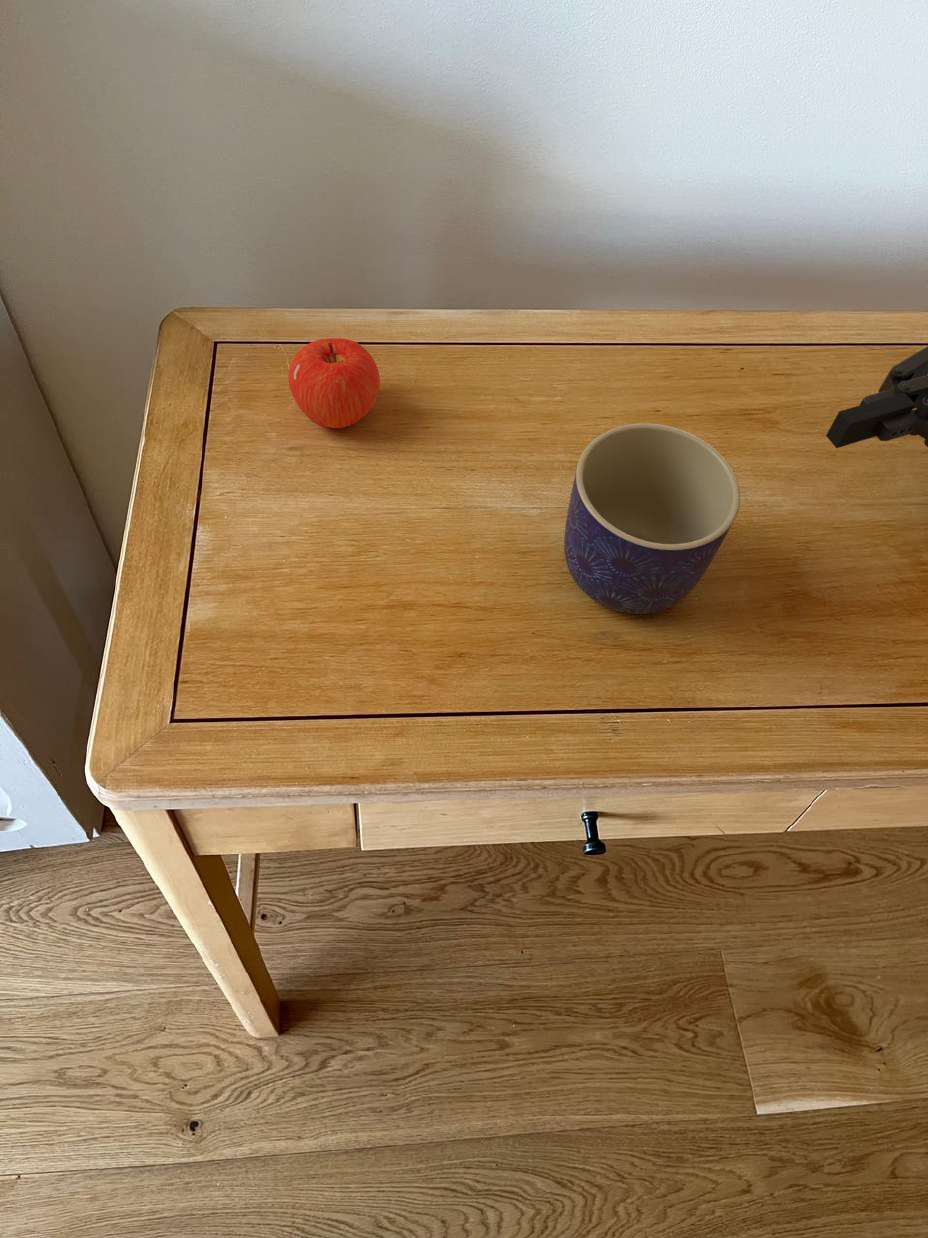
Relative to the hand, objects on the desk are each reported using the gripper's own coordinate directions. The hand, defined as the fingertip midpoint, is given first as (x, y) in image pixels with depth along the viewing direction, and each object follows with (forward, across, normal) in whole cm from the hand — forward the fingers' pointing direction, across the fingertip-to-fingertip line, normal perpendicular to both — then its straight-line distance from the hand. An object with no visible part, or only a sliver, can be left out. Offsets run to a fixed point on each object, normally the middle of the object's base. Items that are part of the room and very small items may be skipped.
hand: (838, 429), depth 74 cm
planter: (+17, 0, -11) cm, 20 cm away
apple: (+34, +25, -11) cm, 43 cm away
